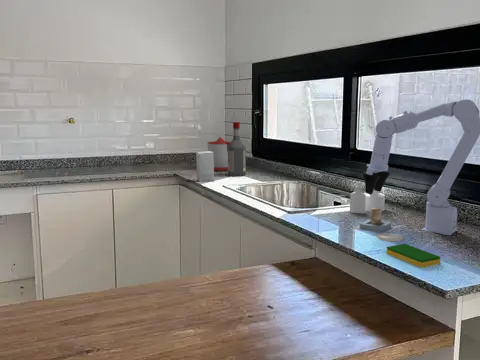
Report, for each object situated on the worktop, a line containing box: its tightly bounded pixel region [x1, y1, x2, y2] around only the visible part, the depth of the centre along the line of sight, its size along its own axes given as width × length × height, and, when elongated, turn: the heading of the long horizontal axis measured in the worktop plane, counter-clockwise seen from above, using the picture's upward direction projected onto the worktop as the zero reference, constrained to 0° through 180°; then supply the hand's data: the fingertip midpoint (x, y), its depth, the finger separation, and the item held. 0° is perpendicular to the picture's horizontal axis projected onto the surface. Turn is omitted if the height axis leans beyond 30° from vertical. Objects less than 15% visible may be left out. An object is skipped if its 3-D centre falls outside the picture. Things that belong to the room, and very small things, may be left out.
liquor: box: [227, 121, 247, 178], centre depth 284 cm, size 9×9×30 cm
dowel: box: [369, 208, 383, 226], centre depth 172 cm, size 4×4×6 cm
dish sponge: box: [386, 243, 441, 268], centre depth 142 cm, size 7×14×2 cm, turn 25°
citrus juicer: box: [207, 136, 231, 172], centre depth 306 cm, size 16×17×20 cm
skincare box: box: [195, 150, 215, 183], centre depth 269 cm, size 8×7×16 cm
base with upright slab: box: [363, 190, 386, 213], centre depth 200 cm, size 9×9×12 cm
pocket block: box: [353, 219, 398, 234], centre depth 172 cm, size 12×10×2 cm
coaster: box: [376, 232, 404, 242], centre depth 160 cm, size 8×8×1 cm
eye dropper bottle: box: [349, 182, 366, 214], centre depth 194 cm, size 4×6×12 cm
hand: (373, 192), depth 177 cm, fingers open, 7 cm apart
